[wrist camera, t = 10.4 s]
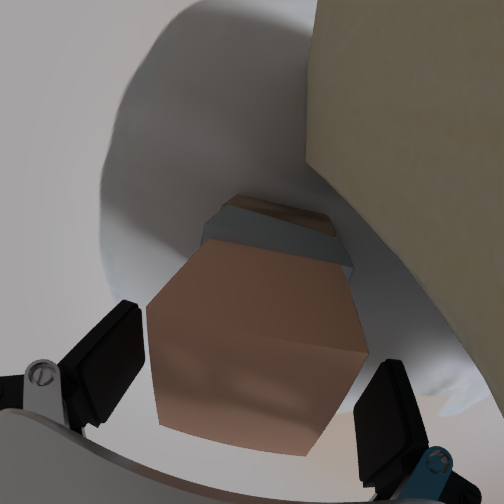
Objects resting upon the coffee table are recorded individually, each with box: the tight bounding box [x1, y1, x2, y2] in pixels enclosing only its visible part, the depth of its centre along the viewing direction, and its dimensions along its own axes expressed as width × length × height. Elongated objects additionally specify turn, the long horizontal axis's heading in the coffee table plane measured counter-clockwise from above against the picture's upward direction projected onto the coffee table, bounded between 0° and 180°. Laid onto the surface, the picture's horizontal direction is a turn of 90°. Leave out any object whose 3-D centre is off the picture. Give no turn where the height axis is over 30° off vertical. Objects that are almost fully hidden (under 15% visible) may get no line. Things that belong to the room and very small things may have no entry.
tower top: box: [200, 205, 354, 284], centre depth 16 cm, size 7×7×4 cm
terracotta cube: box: [146, 238, 369, 456], centre depth 11 cm, size 6×6×6 cm
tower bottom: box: [221, 195, 336, 237], centre depth 20 cm, size 7×7×4 cm
